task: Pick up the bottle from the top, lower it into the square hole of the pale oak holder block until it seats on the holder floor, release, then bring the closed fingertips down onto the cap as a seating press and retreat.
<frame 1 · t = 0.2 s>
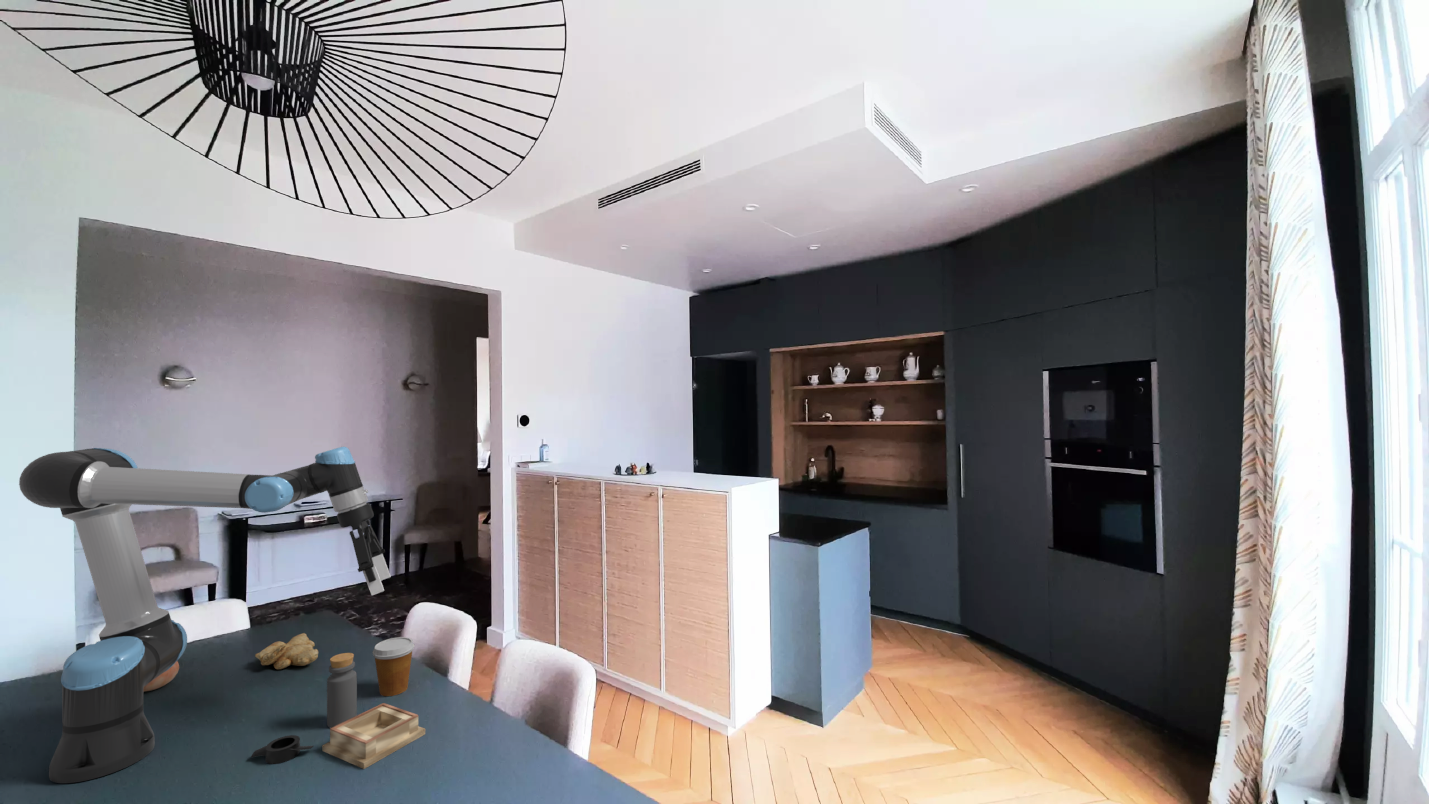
hand: (381, 585, 150), 27 cm above the table, tool tilted 20°, fingers open, 13 cm apart
disposable coffee cup: (393, 691, 151), on the table
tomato: (151, 688, 153), on the table
ginger root: (287, 664, 167), on the table
bottle: (342, 722, 137), on the table
dark winged oval cup: (283, 757, 123), on the table
holder block: (375, 742, 128), on the table
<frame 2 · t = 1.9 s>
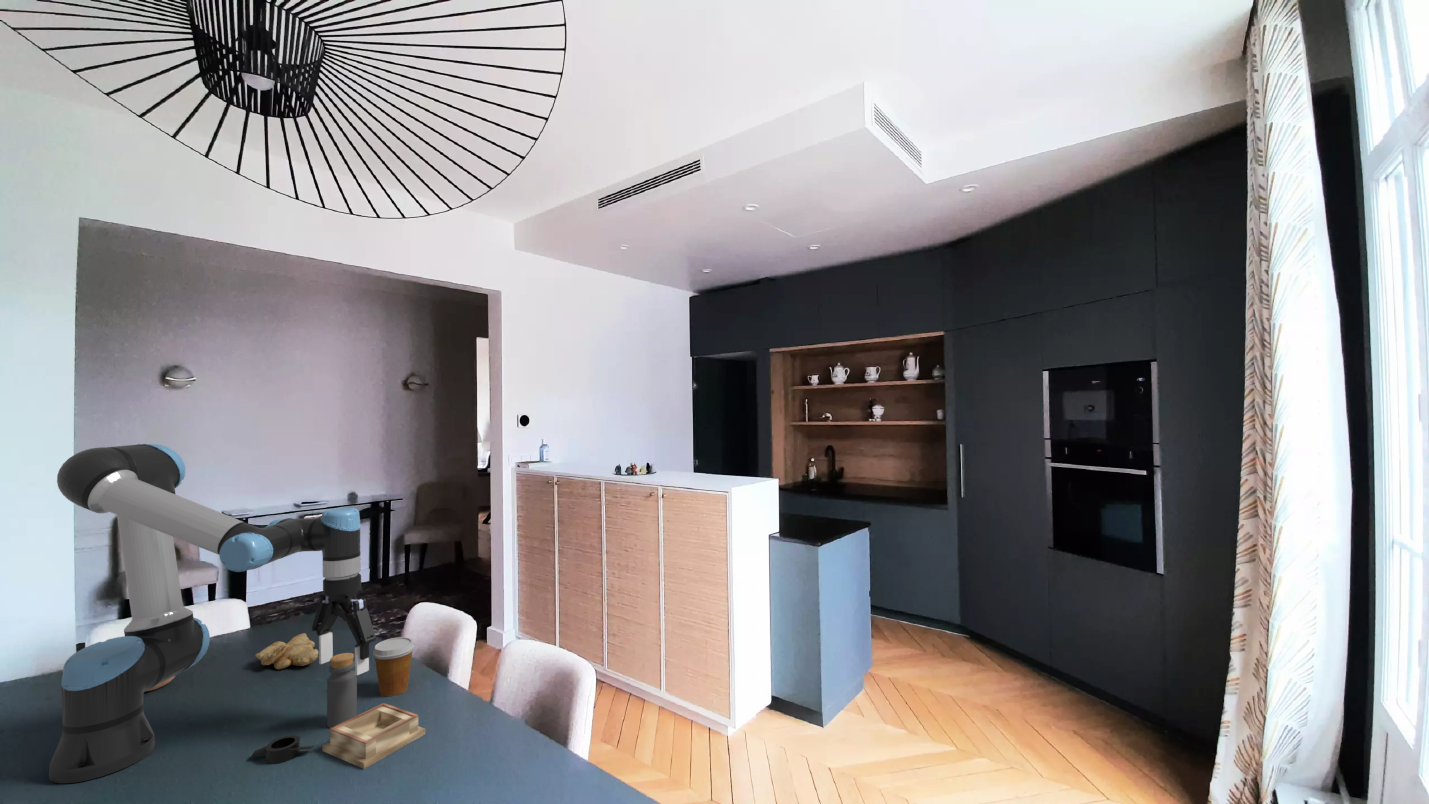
hand: (343, 667, 137), 13 cm above the table, tool pointing down, fingers open, 13 cm apart
nothing on the table moved.
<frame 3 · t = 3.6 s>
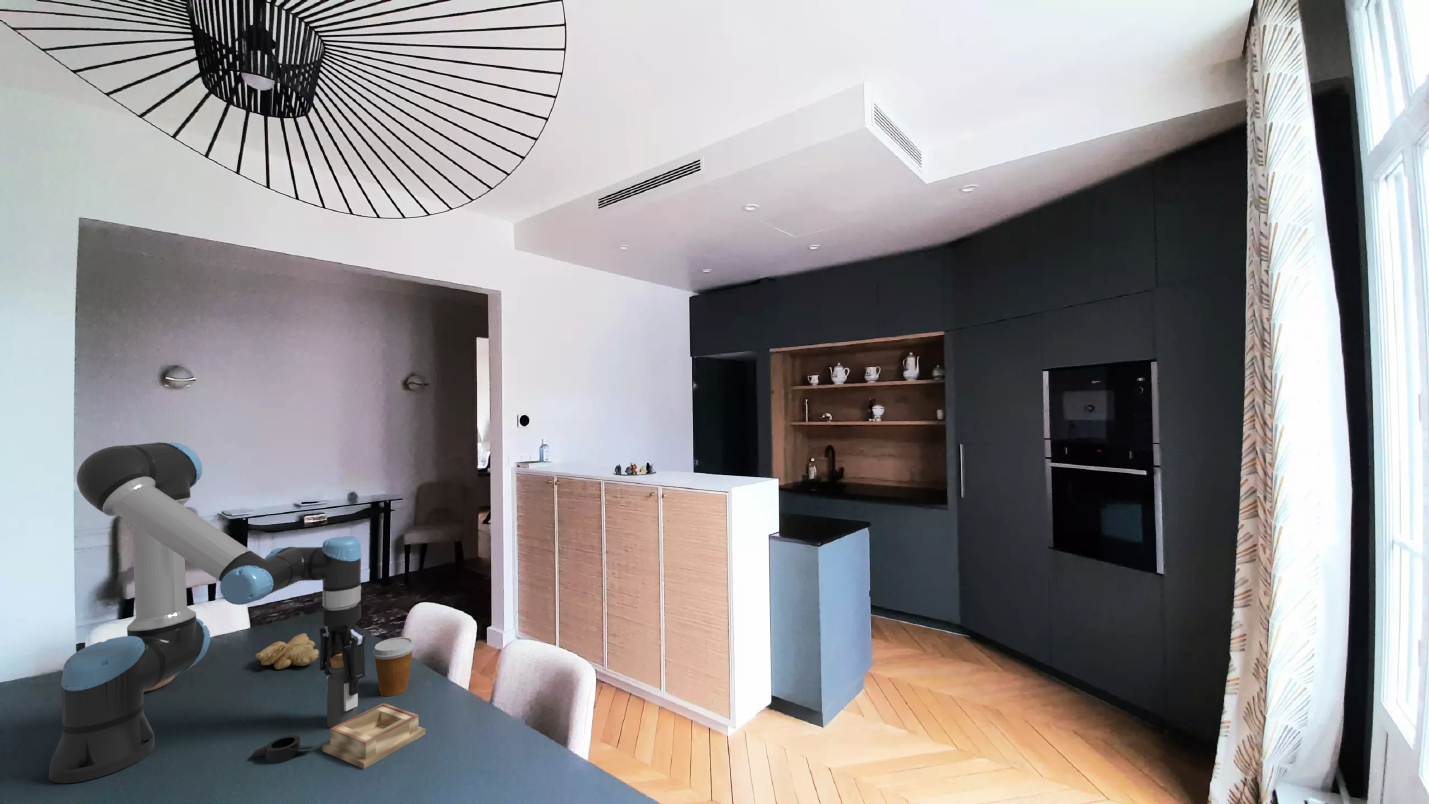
hand: (342, 704, 137), 4 cm above the table, tool pointing down, fingers closed on bottle, 6 cm apart
bottle: (342, 722, 137), on the table, touching gripper
everything else where it was.
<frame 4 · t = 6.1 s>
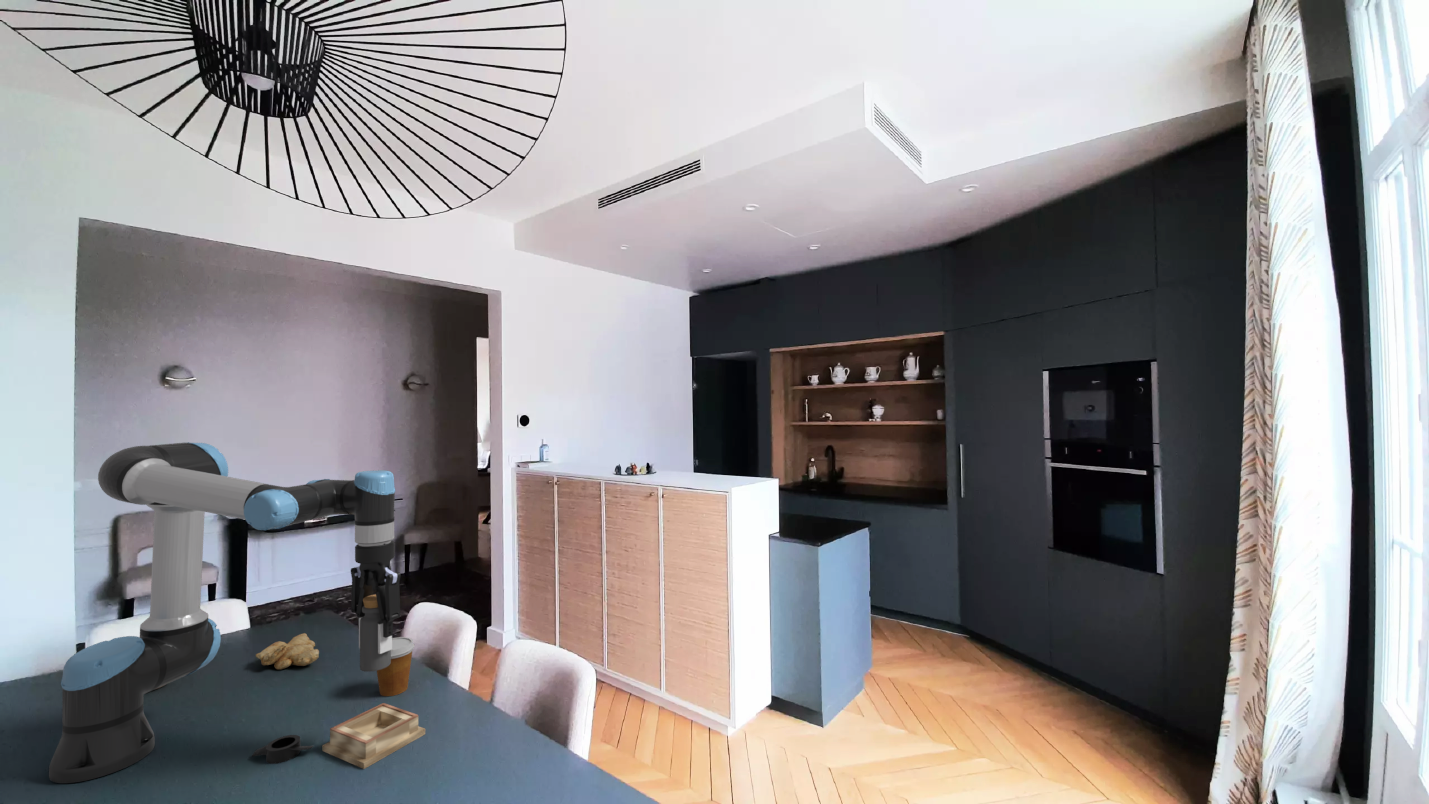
hand: (375, 648, 128), 20 cm above the table, tool pointing down, fingers closed on bottle, 6 cm apart
bottle: (375, 666, 128), point 16 cm above the table, touching gripper
everything else where it was.
when the fingers open (6 cm above the table, at t = 8.6 s): bottle stays where it is, resting on holder block.
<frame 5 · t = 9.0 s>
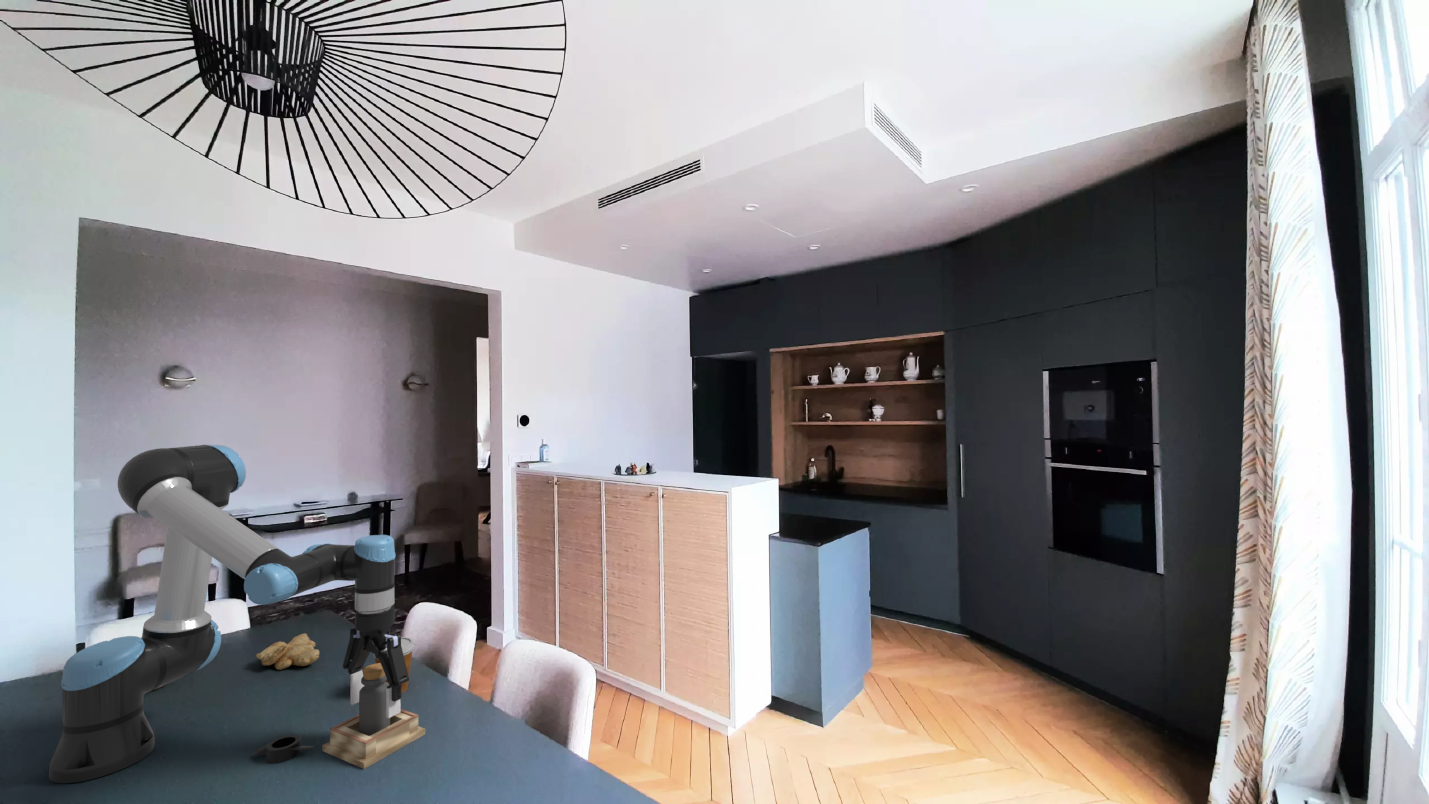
hand: (375, 708, 128), 7 cm above the table, tool pointing down, fingers open, 11 cm apart
bottle: (374, 737, 128), point 1 cm above the table, touching holder block
everything else where it was.
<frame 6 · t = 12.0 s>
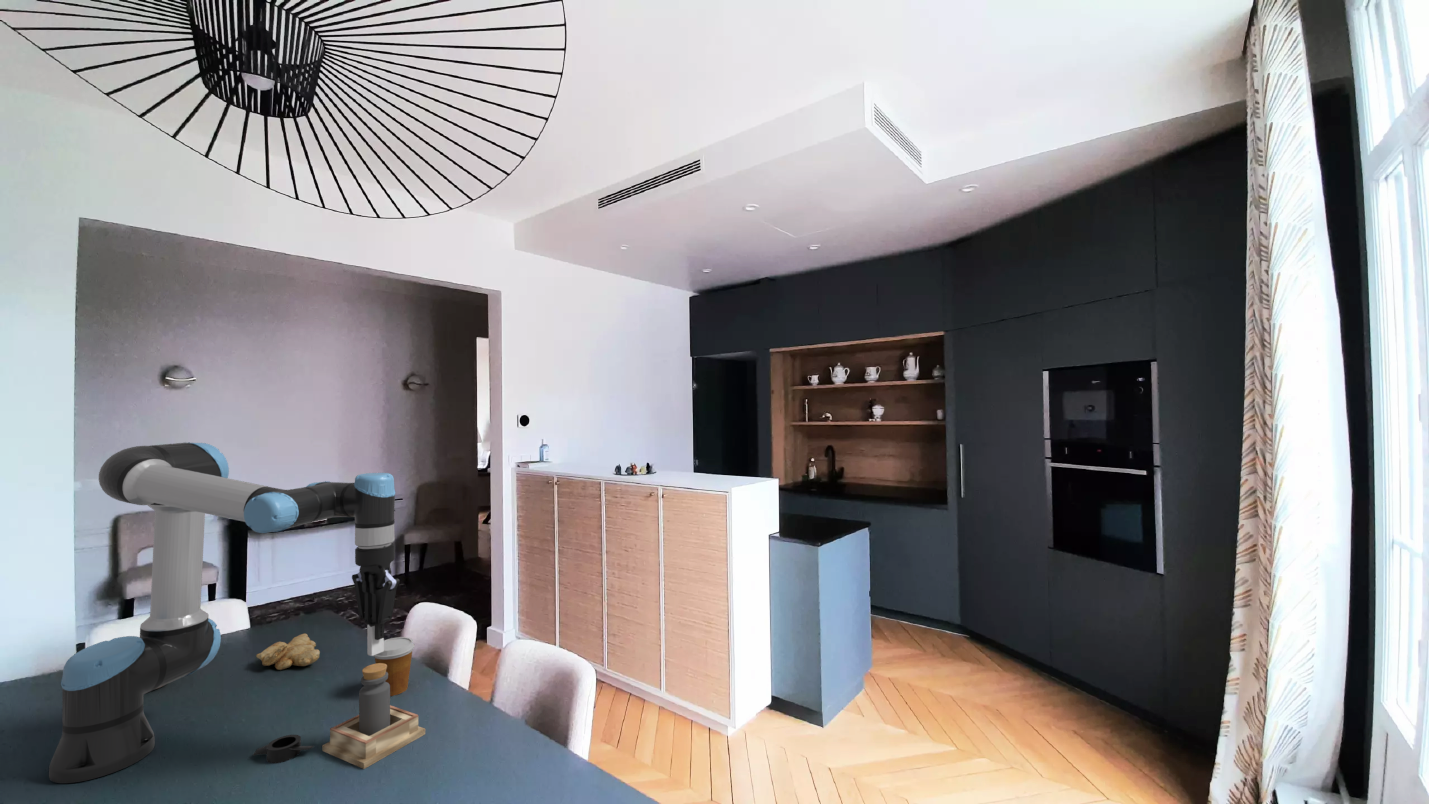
hand: (375, 652, 128), 19 cm above the table, tool pointing down, fingers closed
nothing on the table moved.
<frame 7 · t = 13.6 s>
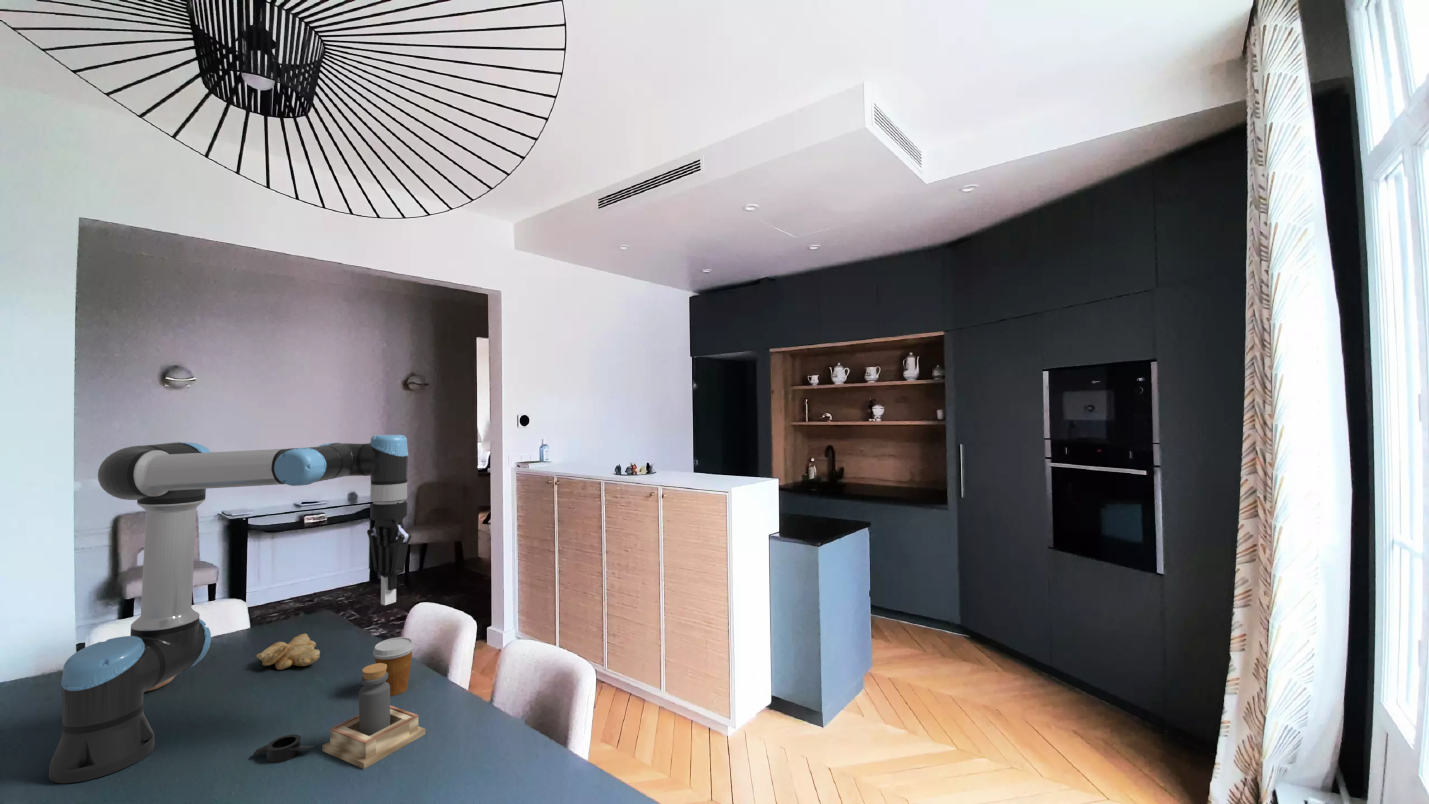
hand: (388, 602, 137), 27 cm above the table, tool pointing down, fingers closed
nothing on the table moved.
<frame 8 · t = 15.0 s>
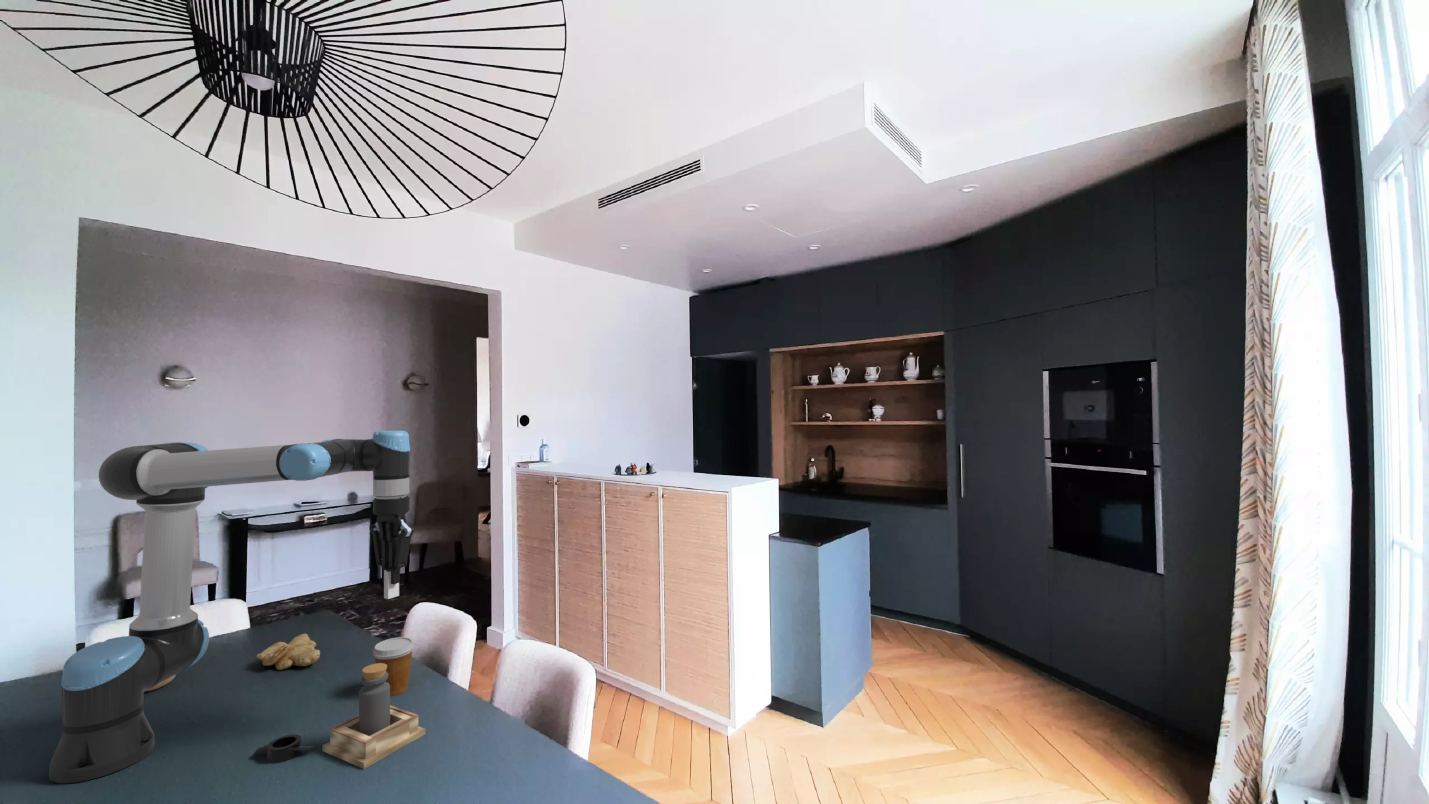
hand: (391, 596, 138), 28 cm above the table, tool pointing down, fingers closed
nothing on the table moved.
at the end: bottle 0.2 cm off-centre on the holder block, point 1.0 cm above the holder block's base; bottle tilted 0°; the gripper is holding nothing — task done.
